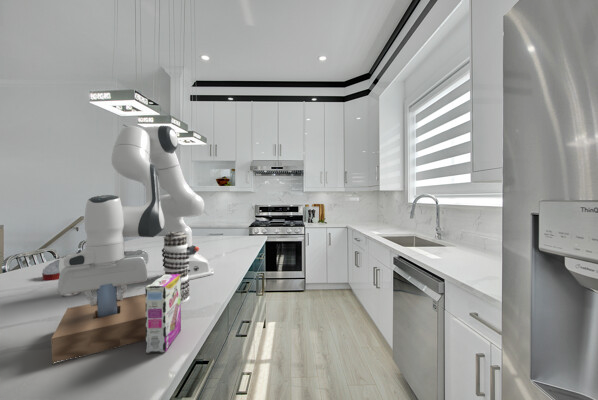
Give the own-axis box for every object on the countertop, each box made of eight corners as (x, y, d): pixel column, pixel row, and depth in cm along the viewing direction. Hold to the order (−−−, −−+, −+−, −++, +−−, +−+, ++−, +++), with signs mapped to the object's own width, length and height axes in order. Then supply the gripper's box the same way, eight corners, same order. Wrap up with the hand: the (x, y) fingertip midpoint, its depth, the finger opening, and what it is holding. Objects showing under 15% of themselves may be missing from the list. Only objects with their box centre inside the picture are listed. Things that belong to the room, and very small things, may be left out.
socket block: (146, 311, 90) (146, 293, 89) (151, 338, 73) (150, 316, 73) (68, 328, 79) (67, 308, 79) (52, 364, 62) (51, 338, 62)
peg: (117, 319, 79) (116, 279, 79) (117, 326, 75) (116, 283, 75) (98, 324, 76) (97, 282, 76) (97, 330, 73) (95, 286, 72)
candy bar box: (166, 353, 66) (165, 286, 65) (145, 354, 65) (143, 287, 65) (182, 330, 77) (181, 273, 77) (164, 331, 76) (163, 273, 76)
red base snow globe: (70, 285, 132) (75, 268, 130) (42, 289, 123) (48, 271, 121) (64, 271, 138) (69, 255, 136) (37, 274, 129) (42, 256, 127)
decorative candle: (170, 295, 104) (169, 230, 103) (194, 295, 104) (193, 230, 103) (157, 305, 95) (155, 234, 94) (183, 305, 94) (181, 233, 94)
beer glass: (69, 297, 103) (68, 258, 103) (55, 296, 104) (53, 258, 104) (87, 291, 110) (86, 254, 109) (73, 290, 111) (72, 254, 111)
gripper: (147, 247, 84) (148, 291, 84) (60, 256, 73) (62, 307, 73) (149, 250, 78) (150, 298, 79) (55, 261, 67) (57, 316, 68)
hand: (107, 302), depth 76 cm, fingers closed on peg, 4 cm apart
